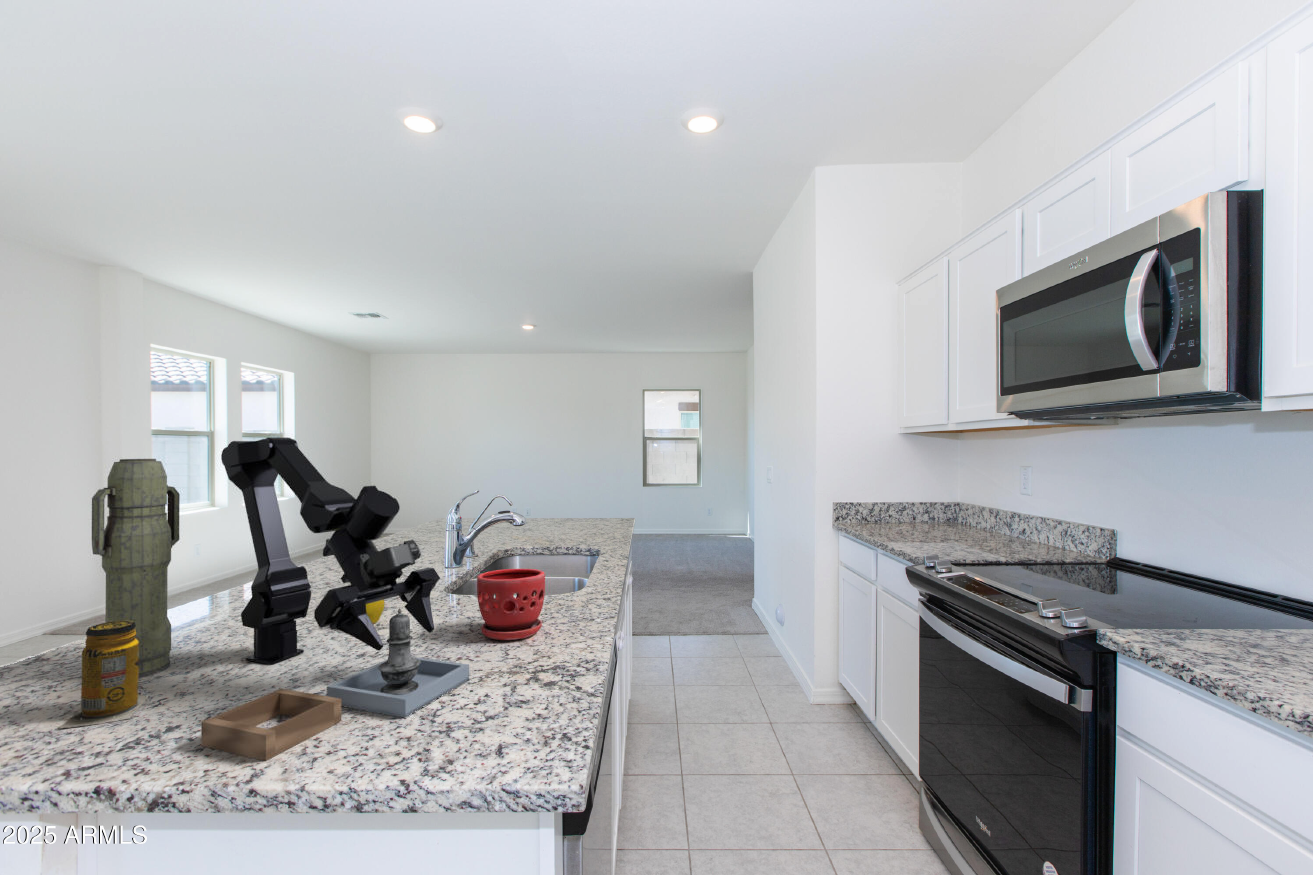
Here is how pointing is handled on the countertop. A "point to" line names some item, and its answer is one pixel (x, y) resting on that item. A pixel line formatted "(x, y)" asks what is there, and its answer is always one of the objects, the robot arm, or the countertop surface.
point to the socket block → (245, 739)
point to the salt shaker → (399, 658)
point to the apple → (375, 610)
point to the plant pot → (511, 602)
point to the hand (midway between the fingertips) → (407, 639)
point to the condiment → (109, 675)
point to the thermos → (138, 553)
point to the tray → (432, 682)
